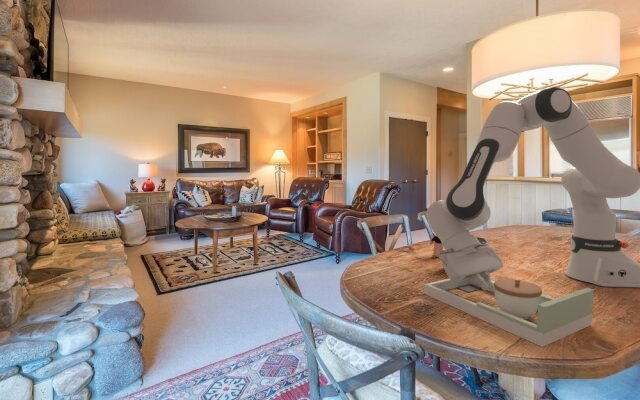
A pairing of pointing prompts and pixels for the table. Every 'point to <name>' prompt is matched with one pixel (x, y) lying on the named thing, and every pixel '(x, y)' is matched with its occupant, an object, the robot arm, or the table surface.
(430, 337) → the table surface
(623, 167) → the robot arm
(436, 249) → the grandmother figurine
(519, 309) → the lidded jar
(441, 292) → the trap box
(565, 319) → the open rectangular frame
